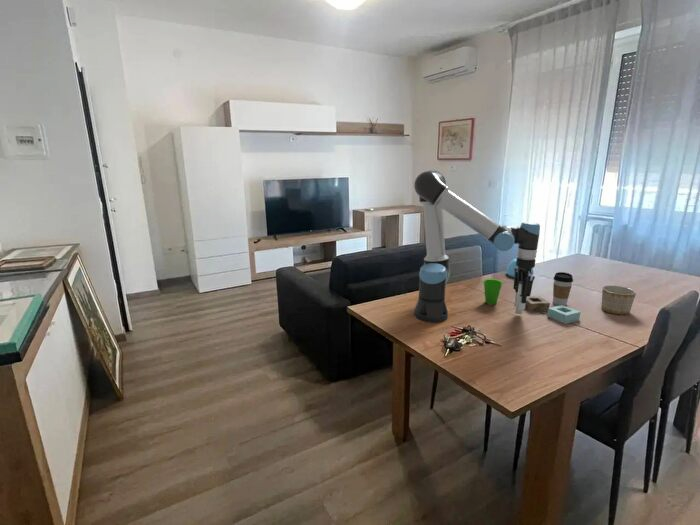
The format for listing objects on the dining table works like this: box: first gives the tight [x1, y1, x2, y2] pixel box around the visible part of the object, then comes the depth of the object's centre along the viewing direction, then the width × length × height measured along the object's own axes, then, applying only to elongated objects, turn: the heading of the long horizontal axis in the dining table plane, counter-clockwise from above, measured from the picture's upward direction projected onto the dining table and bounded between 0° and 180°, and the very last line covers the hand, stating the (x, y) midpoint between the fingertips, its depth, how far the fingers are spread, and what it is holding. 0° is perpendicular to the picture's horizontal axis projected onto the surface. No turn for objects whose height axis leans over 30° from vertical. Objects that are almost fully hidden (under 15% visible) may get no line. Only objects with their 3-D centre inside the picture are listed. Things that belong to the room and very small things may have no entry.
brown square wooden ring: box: [525, 295, 551, 312], centre depth 179 cm, size 9×9×4 cm
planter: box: [600, 284, 637, 316], centre depth 173 cm, size 13×13×10 cm
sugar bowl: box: [506, 258, 534, 278], centre depth 227 cm, size 15×15×12 cm
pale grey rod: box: [515, 281, 524, 315], centre depth 168 cm, size 3×3×15 cm
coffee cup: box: [552, 271, 574, 306], centre depth 182 cm, size 8×8×15 cm
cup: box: [482, 278, 504, 306], centre depth 185 cm, size 9×9×11 cm
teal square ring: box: [546, 305, 581, 325], centre depth 167 cm, size 9×9×4 cm
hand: (519, 307), depth 169 cm, fingers closed on pale grey rod, 3 cm apart
